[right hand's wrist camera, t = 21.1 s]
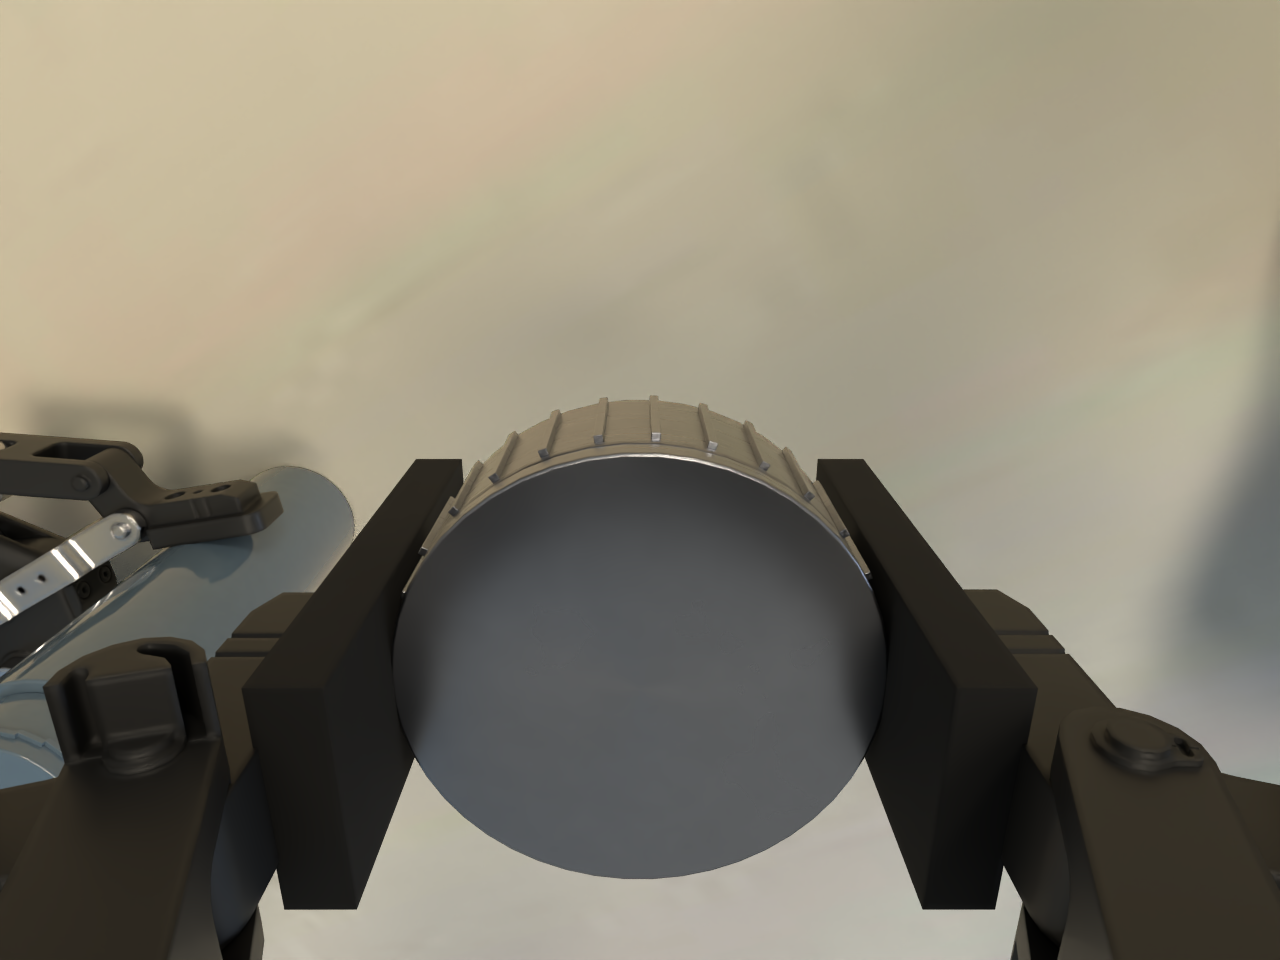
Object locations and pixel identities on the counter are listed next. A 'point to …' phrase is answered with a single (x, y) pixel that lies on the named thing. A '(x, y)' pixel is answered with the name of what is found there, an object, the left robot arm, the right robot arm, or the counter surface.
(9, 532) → the left robot arm
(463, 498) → the lid
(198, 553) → the jar
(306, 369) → the counter surface
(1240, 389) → the counter surface
